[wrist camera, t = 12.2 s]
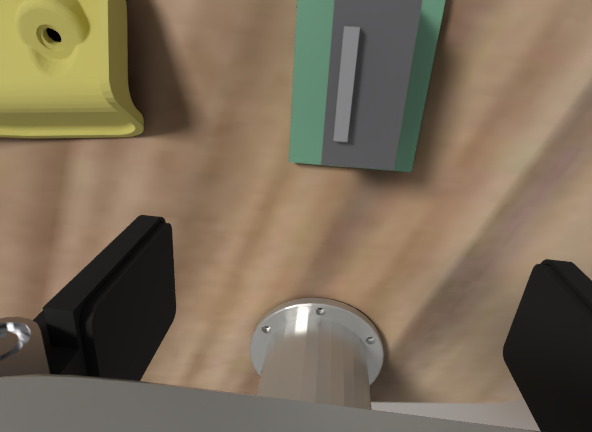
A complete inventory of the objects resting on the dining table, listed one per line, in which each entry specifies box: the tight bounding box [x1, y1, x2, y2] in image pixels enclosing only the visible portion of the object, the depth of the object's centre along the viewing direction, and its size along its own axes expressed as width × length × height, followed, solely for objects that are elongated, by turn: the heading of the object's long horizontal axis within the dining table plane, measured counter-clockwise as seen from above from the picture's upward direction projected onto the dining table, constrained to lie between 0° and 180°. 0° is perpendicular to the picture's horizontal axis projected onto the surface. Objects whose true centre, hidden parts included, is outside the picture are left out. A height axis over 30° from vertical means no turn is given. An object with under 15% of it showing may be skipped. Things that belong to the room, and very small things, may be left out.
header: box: [289, 0, 445, 172], centre depth 26 cm, size 12×9×4 cm
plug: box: [321, 0, 422, 170], centre depth 25 cm, size 9×4×6 cm, turn 177°
